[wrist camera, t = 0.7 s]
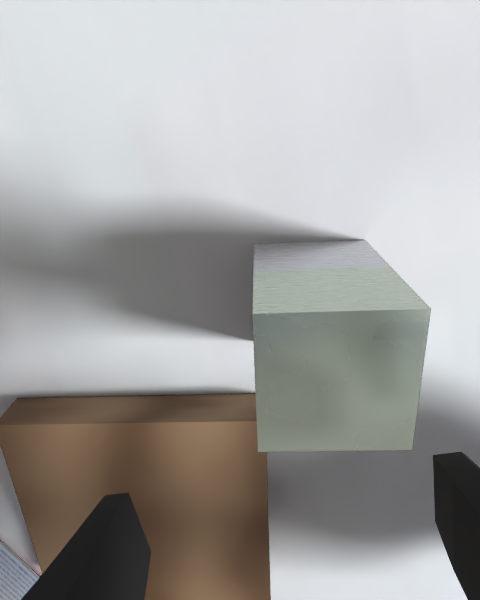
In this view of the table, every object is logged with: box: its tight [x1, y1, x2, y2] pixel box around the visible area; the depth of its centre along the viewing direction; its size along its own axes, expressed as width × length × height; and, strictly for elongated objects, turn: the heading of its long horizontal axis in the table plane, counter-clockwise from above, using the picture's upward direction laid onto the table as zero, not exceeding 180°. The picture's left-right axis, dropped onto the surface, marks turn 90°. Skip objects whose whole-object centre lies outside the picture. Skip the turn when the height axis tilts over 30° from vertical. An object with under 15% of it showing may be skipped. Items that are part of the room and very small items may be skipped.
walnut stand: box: [0, 394, 271, 600], centre depth 22 cm, size 12×12×2 cm
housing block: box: [253, 240, 431, 452], centre depth 15 cm, size 4×4×7 cm
